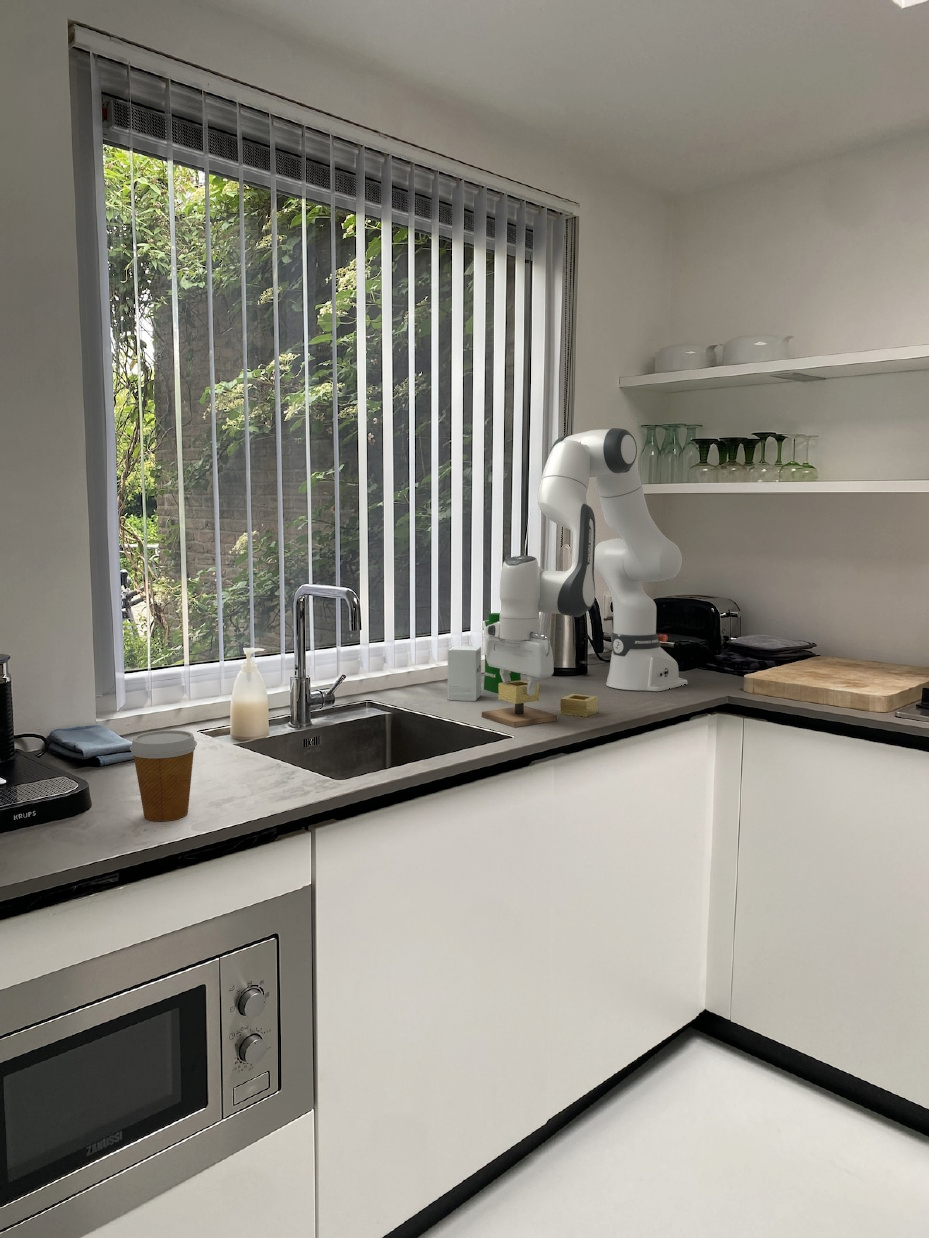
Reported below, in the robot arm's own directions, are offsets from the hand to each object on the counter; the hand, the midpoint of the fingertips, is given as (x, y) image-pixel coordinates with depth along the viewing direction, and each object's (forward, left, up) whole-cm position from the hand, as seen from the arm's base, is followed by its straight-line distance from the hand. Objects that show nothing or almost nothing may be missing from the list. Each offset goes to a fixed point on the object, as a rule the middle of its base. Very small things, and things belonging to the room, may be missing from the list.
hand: (518, 692), depth 201 cm
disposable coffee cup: (+84, +22, -6) cm, 87 cm away
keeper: (0, 0, -6) cm, 6 cm away
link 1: (0, 0, -2) cm, 2 cm away
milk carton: (-17, -29, -6) cm, 34 cm away
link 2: (-15, +3, -6) cm, 17 cm away
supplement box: (-3, -26, -6) cm, 27 cm away
